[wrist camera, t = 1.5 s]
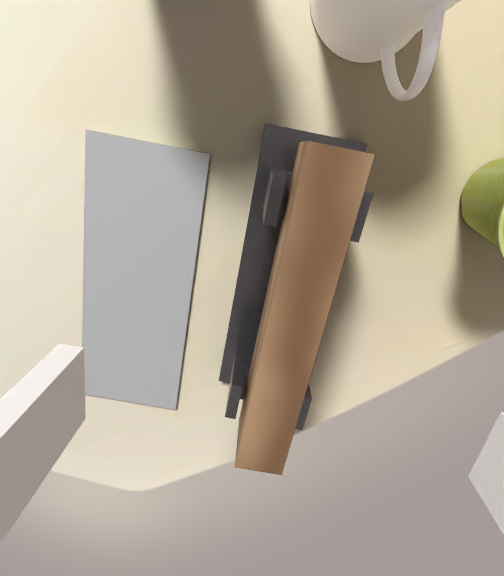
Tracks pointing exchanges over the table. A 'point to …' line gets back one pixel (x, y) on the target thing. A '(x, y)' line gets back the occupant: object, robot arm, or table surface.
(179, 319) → the mat
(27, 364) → the table surface
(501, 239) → the plant pot
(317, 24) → the mug
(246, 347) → the stand
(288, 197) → the rail
